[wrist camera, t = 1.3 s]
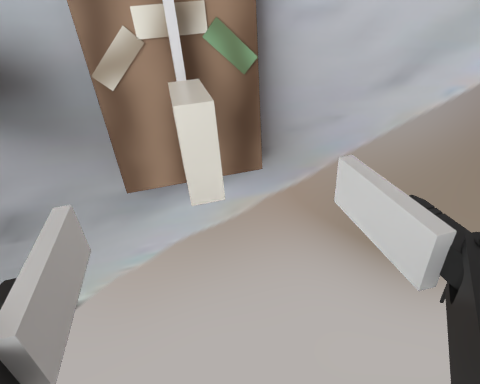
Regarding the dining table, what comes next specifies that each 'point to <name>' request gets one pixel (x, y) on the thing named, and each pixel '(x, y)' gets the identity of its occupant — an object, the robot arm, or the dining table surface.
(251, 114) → the board
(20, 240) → the dining table surface
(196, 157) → the white piece
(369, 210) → the robot arm
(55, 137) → the dining table surface
